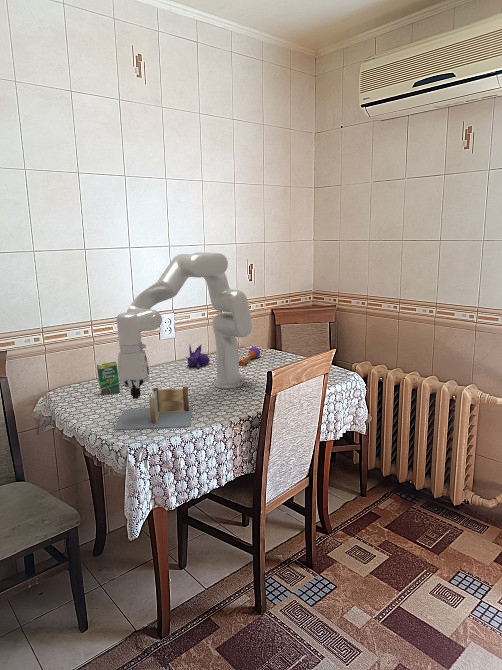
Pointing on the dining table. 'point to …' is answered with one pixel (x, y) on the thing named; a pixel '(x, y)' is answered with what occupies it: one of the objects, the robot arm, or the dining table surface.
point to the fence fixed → (172, 399)
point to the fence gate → (153, 407)
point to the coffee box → (108, 378)
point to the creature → (197, 358)
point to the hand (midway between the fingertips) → (136, 397)
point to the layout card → (142, 419)
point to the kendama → (250, 355)
